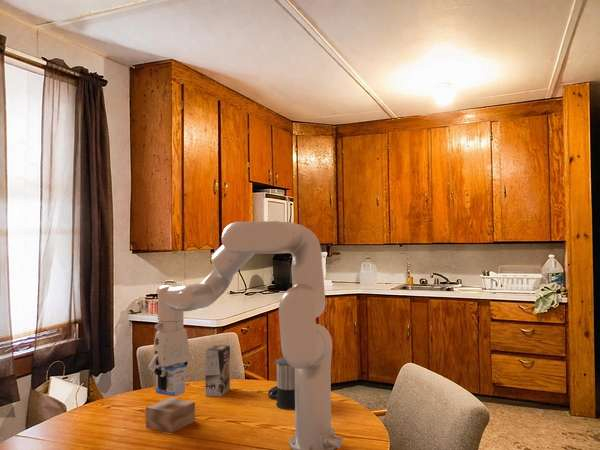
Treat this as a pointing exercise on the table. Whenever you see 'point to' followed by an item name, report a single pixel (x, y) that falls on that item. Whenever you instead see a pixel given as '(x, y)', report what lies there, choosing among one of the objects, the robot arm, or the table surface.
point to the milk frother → (284, 385)
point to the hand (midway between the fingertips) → (170, 386)
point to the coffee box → (217, 370)
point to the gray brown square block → (170, 414)
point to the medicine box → (173, 380)
